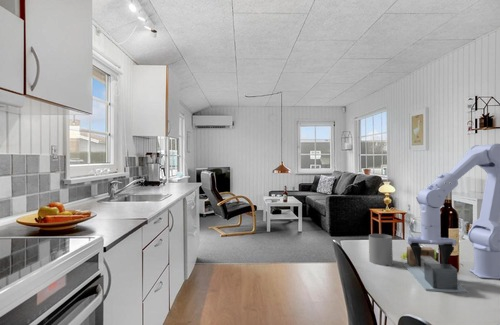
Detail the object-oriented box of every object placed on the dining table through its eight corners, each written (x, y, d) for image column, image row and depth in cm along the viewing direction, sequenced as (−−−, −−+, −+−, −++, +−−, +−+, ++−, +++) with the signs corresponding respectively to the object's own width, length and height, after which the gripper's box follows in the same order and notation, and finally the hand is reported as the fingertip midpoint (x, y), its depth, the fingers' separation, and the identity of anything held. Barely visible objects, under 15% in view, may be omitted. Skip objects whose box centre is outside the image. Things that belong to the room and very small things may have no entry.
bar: (430, 269, 111) (430, 255, 111) (450, 287, 95) (449, 271, 95) (419, 268, 112) (419, 255, 112) (436, 286, 96) (436, 270, 96)
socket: (431, 264, 117) (430, 247, 117) (434, 267, 114) (434, 250, 114) (407, 263, 119) (406, 246, 119) (409, 266, 115) (409, 249, 115)
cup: (394, 265, 118) (394, 238, 118) (371, 264, 120) (370, 238, 120) (389, 259, 126) (389, 234, 126) (367, 258, 128) (367, 233, 128)
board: (435, 266, 117) (435, 264, 117) (467, 293, 92) (467, 290, 92) (403, 264, 119) (403, 263, 119) (425, 290, 95) (425, 288, 95)
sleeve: (446, 280, 101) (446, 261, 101) (457, 289, 93) (457, 269, 93) (424, 278, 102) (424, 260, 103) (433, 288, 95) (433, 268, 95)
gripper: (410, 226, 103) (411, 268, 103) (460, 228, 100) (460, 271, 100) (404, 222, 110) (405, 262, 110) (450, 224, 107) (451, 264, 107)
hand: (431, 266), depth 105 cm, fingers open, 7 cm apart
